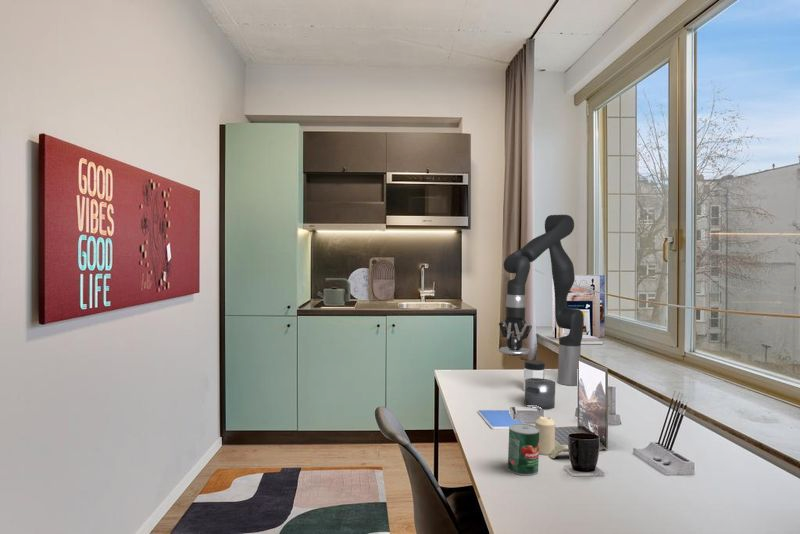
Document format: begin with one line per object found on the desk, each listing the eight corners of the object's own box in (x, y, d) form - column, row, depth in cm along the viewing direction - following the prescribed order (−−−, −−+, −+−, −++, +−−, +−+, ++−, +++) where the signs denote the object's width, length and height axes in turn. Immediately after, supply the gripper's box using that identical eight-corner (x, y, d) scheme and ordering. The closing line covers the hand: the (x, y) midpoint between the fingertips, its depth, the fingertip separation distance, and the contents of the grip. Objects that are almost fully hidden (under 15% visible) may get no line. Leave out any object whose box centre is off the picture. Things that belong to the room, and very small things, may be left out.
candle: (554, 449, 157) (555, 415, 156) (553, 456, 151) (554, 421, 151) (535, 447, 158) (536, 413, 158) (533, 453, 153) (534, 418, 153)
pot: (534, 398, 212) (535, 375, 212) (561, 404, 205) (562, 380, 205) (516, 406, 200) (517, 382, 199) (544, 412, 193) (545, 387, 193)
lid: (507, 347, 224) (508, 333, 223) (534, 351, 216) (535, 336, 216) (493, 351, 214) (494, 336, 214) (521, 356, 207) (521, 340, 207)
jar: (548, 391, 223) (549, 362, 223) (536, 394, 218) (537, 365, 218) (530, 387, 230) (531, 359, 230) (518, 389, 225) (519, 361, 225)
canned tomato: (533, 478, 136) (535, 435, 136) (503, 471, 140) (504, 429, 140) (541, 467, 143) (543, 426, 143) (512, 461, 147) (514, 421, 147)
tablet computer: (476, 413, 193) (476, 409, 193) (510, 413, 194) (511, 409, 194) (491, 431, 173) (491, 427, 173) (529, 430, 175) (529, 426, 175)
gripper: (536, 306, 213) (535, 349, 214) (504, 303, 222) (503, 345, 222) (528, 308, 207) (526, 352, 208) (495, 305, 216) (494, 347, 217)
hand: (514, 348), depth 215 cm, fingers closed on lid, 3 cm apart
